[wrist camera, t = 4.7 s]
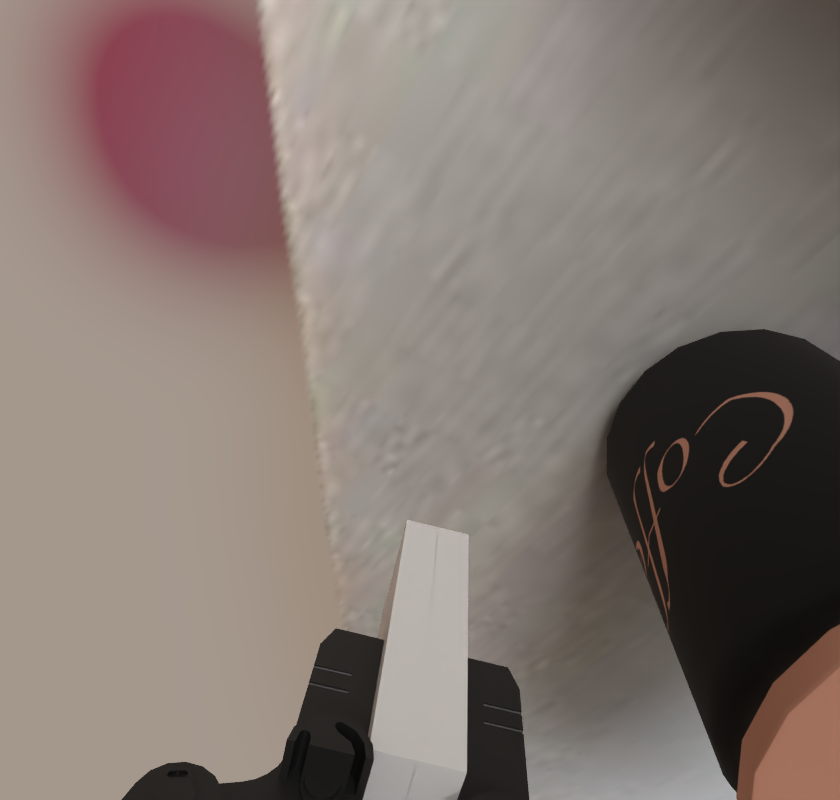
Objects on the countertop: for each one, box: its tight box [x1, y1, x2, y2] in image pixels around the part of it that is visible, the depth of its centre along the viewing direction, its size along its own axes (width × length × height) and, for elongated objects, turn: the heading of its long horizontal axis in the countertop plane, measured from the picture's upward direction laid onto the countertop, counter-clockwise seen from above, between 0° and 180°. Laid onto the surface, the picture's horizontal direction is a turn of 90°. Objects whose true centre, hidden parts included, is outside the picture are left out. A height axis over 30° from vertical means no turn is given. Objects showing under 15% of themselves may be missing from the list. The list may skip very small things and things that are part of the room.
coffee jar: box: [607, 329, 840, 800], centre depth 22 cm, size 11×11×18 cm
